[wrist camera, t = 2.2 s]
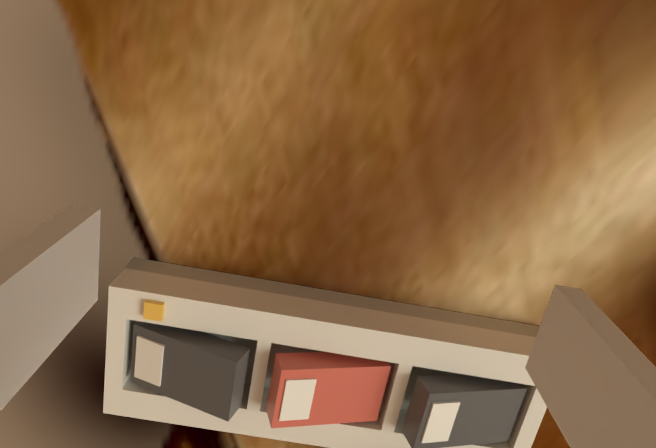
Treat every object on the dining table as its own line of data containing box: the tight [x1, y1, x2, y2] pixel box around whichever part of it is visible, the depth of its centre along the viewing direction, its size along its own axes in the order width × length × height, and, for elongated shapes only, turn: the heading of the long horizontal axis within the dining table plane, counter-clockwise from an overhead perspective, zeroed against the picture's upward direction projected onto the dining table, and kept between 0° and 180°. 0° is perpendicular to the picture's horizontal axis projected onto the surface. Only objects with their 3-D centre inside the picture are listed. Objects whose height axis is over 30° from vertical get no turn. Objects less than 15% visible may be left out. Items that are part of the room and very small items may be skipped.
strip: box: [103, 257, 547, 448], centre depth 38 cm, size 38×10×5 cm, turn 80°
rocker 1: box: [130, 321, 250, 422], centre depth 36 cm, size 8×5×2 cm, turn 80°
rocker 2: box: [402, 374, 527, 448], centre depth 36 cm, size 8×5×2 cm, turn 79°
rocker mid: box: [266, 352, 391, 428], centre depth 36 cm, size 8×5×2 cm, turn 79°
